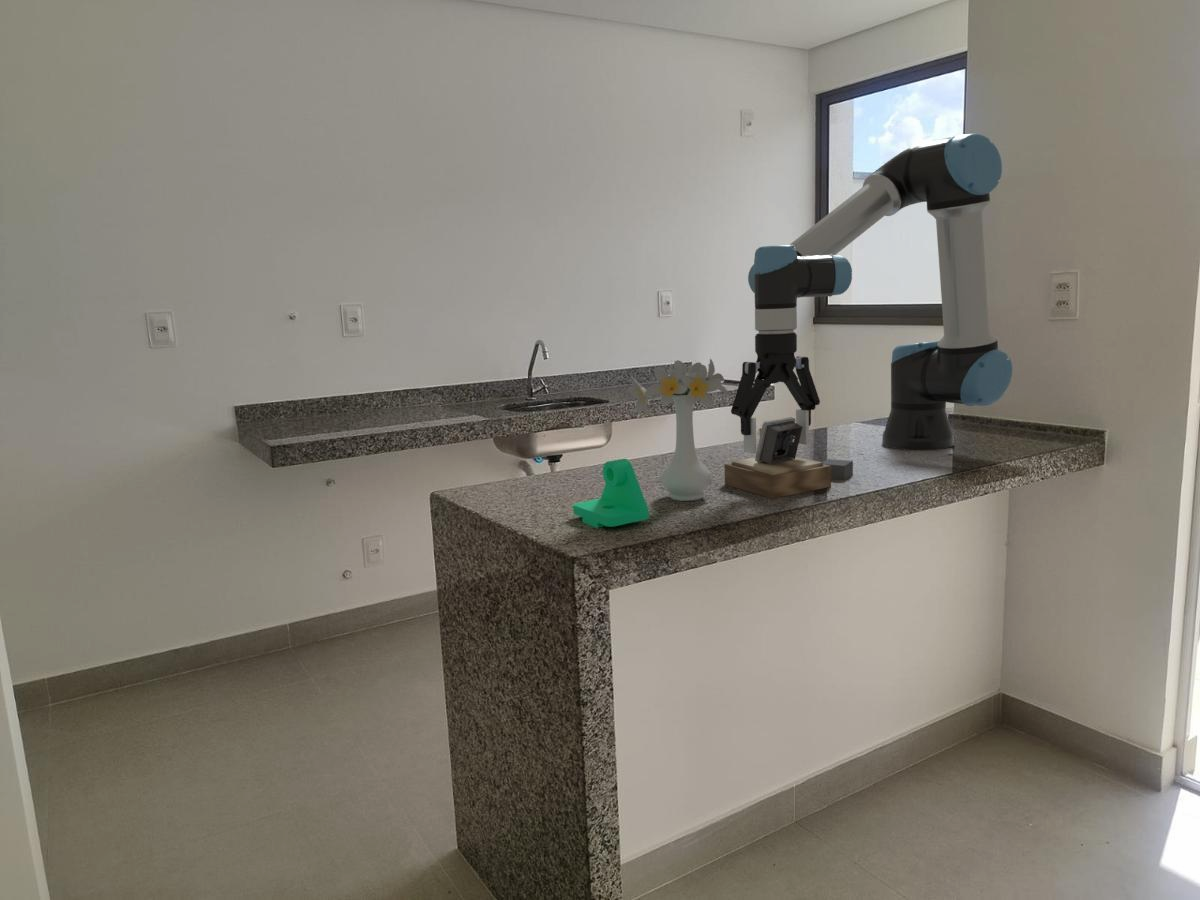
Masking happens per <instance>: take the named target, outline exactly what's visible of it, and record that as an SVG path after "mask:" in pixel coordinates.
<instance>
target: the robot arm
mask: <svg viewBox="0 0 1200 900" xmlns="http://www.w3.org/2000/svg"><path fill="white" fill-rule="evenodd" d="M1002 173H1003V163H1002V158H1001V155H1000V152H999V149H998V148H997V146H996V144H994V142H993V141H991V140H990V138H988V137H987V136H985V135H984V134H981V133H967V134H957V135H954V136H949V137H945V138H941V139H936V140H933V141H929V142H923V143H918V144H914V145H911V146H910V147H908V148H906V149H905V150H903V151H900V152H899V153H898V154H896V155H895V156H894V157H892V158H891V159H889V160H888V161H887V162H885V163H883V165H881V166H879V168H877V169H876V170H875V171H873V172H872V173H870V175H868V176H867V177H866V178H865V179H864V181H863V182H862V187H861V188H859V189H858V190H857V191H855V193H854V194H851V196H849V197H848V198H847V199H846V200H845V201H843V202H842V203H840V204H839V205H837V206H836V207H835V208H834V209H833V210H832V211H830V212H829V213H827V215H825V216H824V217H823V218H821V219H820V220H819V221H818V222H817V223H815V224H814V225H812V226H811V227H810V228H809V229H807V230H806V231H805V232H804V233H802V234H801V235H800V236H798V237H797V238H796V239H794V241H792V242H791V243H790V244H784V245H783V244H780V245H766V246H759V247H758V248H756V250H755V253H754V258H753V259H754V260H753V261H754V262H753V264H752V265H751V267H750V269H749V272H748V277H747V281H748V286H749V288H750V289H751V291H752V292H753V294H754V330H755V331H756V332H758V333H756V334H755V335H754V349H755V350H754V353H755V354H756V355H757V356H756V357H757V358H756V361H755V362H753V361H744V362H742V365H741V366H742V368H741V370H742V371H741V372H742V373H741V377H740V380H739V384H738V388H737V390H736V393H735V396H734V400H733V402H732V407H731V408H730V409H731V410H730V413H731V414H732V415H734V416H736V417H739V419H740V433H741V435H742V436H743V452H746V453H749V454H756V452H757V417H753V415H754V414H755V411H756V410H757V407H758V406H759V404H760V403H761V400H762V399H763V397H764V395H765V393H766V391H767V389H768V388H769V387H771V385H772V384H778V383H783V384H784V385H785V386H786V387H787V390H788V391H789V393H790V394H791V396H792V398H793V399H794V401H795V402H796V404H797V406H798V407H799V408H797V409H795V420H796V421H795V423H797V424H798V425H800V426H802V427H803V428H802V432H801V436H800V440H799V444H800V445H805V446H806V445H809V444H810V443H809V441H810V438H809V437H810V430H809V429H810V428H809V426H810V427H811V424H812V411H814V410H815V409H816V406H819V405H820V403H821V399H820V397H819V395H818V391H817V388H816V385H815V382H814V379H813V376H812V373H811V370H810V359H809V357H808V356H799V355H798V356H795V353H796V352H797V348H798V340H797V337H798V335H797V333H796V332H794V330H796V329H797V327H798V323H797V322H798V316H797V315H798V313H797V310H798V309H797V308H798V306H797V305H798V304H797V302H798V299H799V298H813V297H814V298H816V297H830V298H831V297H833V296H838V295H843V294H844V293H845V292H847V290H848V289H849V288H850V286H851V284H852V280H853V268H852V265H851V263H850V262H849V260H848V259H847V258H846V257H845V256H842V255H837V254H838V253H840V252H841V251H843V249H845V248H846V247H848V246H849V245H850V244H852V243H853V242H854V241H855V240H856V239H858V238H859V237H860V236H861V235H863V234H864V233H865V232H867V230H869V229H870V228H871V227H873V226H874V225H875V224H876V223H878V222H879V221H880V220H881V219H883V218H884V217H891V216H894V215H895V214H897V213H898V212H899V211H901V210H902V209H904V208H906V207H910V206H911V205H915V204H921V203H925V202H926V211H927V213H928V214H930V215H931V216H932V217H933V218H934V219H935V224H936V237H937V238H936V239H937V241H936V242H937V252H938V253H937V254H938V267H939V279H940V280H939V283H940V295H941V296H940V297H941V309H942V310H941V311H942V325H943V336H942V338H941V339H940V340H936V341H935V340H934V341H927V342H918V343H908V344H901V345H897V346H896V347H894V349H893V350H892V353H891V362H890V412H889V415H888V418H887V421H886V424H885V429H884V430H883V433H882V438H881V439H882V441H881V442H882V443H881V444H882V445H883V446H884V447H888V448H892V449H899V450H909V451H911V450H912V451H933V450H934V451H935V450H943V449H947V448H950V447H953V446H954V433H953V431H952V429H951V425H950V422H949V418H948V414H947V411H946V410H947V409H946V408H947V407H946V406H947V403H951V404H957V405H958V404H959V405H964V406H967V407H974V406H977V407H986V406H991V405H993V404H995V403H997V402H998V401H999V400H1000V399H1001V398H1002V397H1003V396H1004V394H1005V392H1006V391H1007V390H1008V388H1009V386H1010V383H1011V382H1012V378H1013V377H1012V375H1013V363H1012V360H1011V357H1009V356H1008V354H1007V353H1006V352H1005V351H1002V350H1001V349H999V344H998V337H997V336H996V335H995V334H993V333H992V332H991V331H990V328H989V312H988V310H989V309H988V307H989V306H988V293H987V278H986V276H987V274H986V259H985V258H986V257H985V241H984V224H983V223H984V221H983V211H984V210H985V208H986V207H988V205H989V203H990V202H991V201H990V200H991V199H990V198H991V197H990V193H991V192H992V191H994V189H996V188H997V186H998V184H999V180H1000V179H1001V177H1002ZM794 370H795V371H794ZM795 372H796V373H795Z"/></svg>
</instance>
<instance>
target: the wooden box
mask: <svg viewBox="0 0 1200 900" xmlns="http://www.w3.org/2000/svg"><path fill="white" fill-rule="evenodd" d="M776 460H779V459H776ZM823 462H824V461H818V460H815V459H814V460H813V459H808V458H805V457H799V456H796V457H795V459H794V460H790V461H786V462H782V463H777V464H773V465H769V464H768V463H765V462H762V463H758V462H756V461H755V457H748V458H744V459H738V460H732V461H731V462H730V463H725V464H724V486H729V487H732V488H736V489H737V490H742V491H745V492H748V493H752V494H755V495H760V496H763V497H766V498H770V499H776V498H782V497H786V496H787V497H788V496H792V495H797V494H801V493H806V492H811V491H812V492H813V491H817V490H822V489H826V488H831V487H832V479H831V466H830V465H825V464H823Z"/></svg>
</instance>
